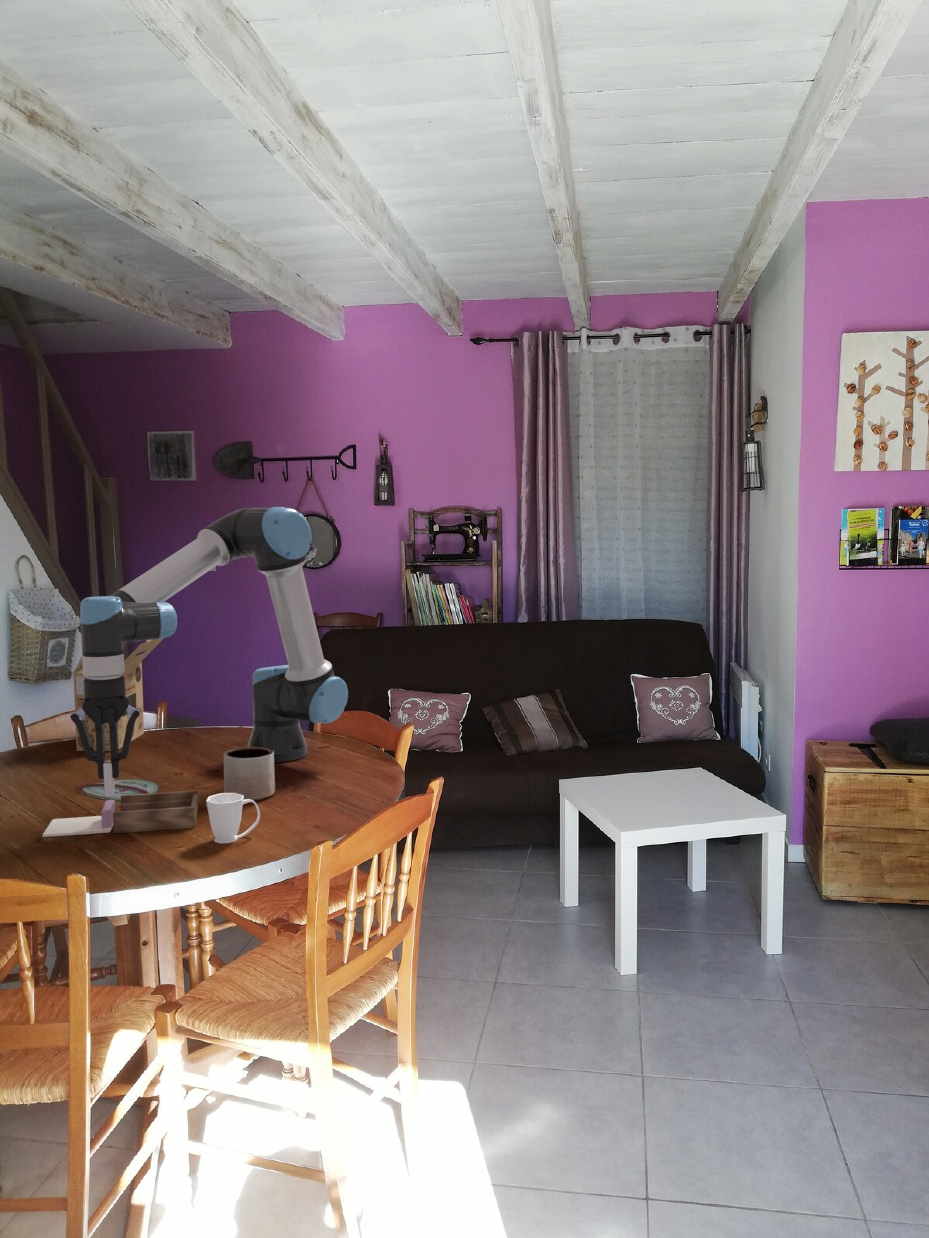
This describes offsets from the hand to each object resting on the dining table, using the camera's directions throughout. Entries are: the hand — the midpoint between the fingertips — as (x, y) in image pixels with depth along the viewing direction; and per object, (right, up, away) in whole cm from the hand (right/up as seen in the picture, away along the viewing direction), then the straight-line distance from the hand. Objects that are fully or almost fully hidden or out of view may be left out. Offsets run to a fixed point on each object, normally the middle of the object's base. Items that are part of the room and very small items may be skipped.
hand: (109, 794), depth 181 cm
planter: (+23, -4, +20) cm, 31 cm away
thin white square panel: (-5, -7, -1) cm, 9 cm away
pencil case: (+9, -6, +2) cm, 11 cm away
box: (-24, +1, +69) cm, 73 cm away
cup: (+26, -7, -8) cm, 28 cm away
